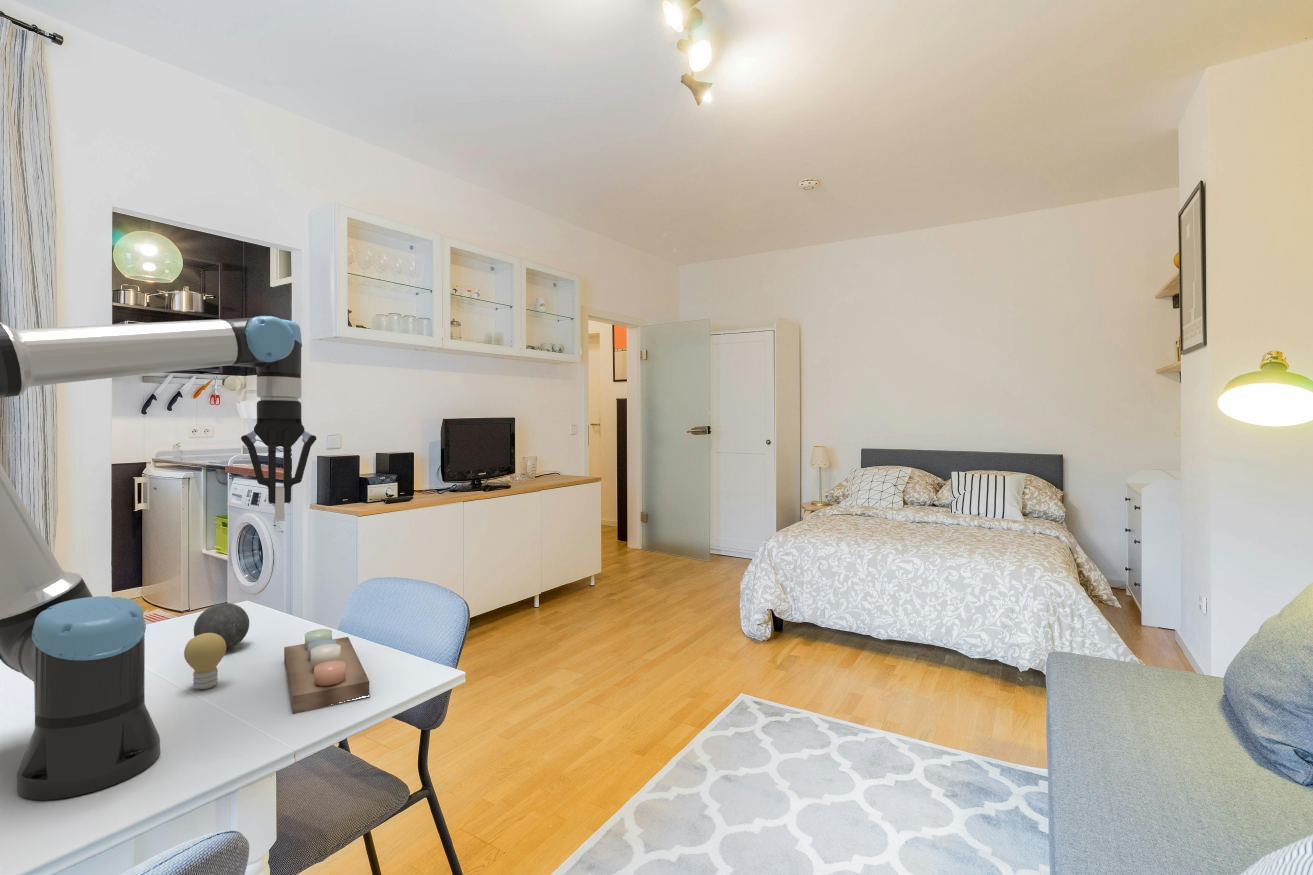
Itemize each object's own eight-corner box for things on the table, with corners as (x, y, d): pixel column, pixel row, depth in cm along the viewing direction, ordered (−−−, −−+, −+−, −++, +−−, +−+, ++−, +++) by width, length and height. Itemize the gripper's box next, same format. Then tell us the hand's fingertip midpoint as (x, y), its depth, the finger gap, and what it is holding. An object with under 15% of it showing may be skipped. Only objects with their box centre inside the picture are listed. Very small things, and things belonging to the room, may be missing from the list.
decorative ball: (199, 645, 140) (199, 600, 140) (252, 639, 144) (252, 595, 144) (188, 660, 131) (188, 612, 131) (245, 653, 135) (245, 607, 135)
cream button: (312, 668, 116) (311, 654, 116) (309, 660, 120) (309, 646, 120) (342, 663, 119) (342, 649, 119) (338, 655, 123) (338, 641, 123)
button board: (292, 713, 108) (292, 695, 108) (284, 661, 131) (284, 646, 131) (369, 697, 114) (369, 680, 114) (348, 650, 138) (348, 636, 138)
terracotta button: (315, 687, 110) (315, 673, 110) (312, 678, 115) (312, 663, 115) (347, 681, 113) (347, 667, 113) (343, 672, 117) (343, 658, 117)
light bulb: (177, 689, 117) (176, 635, 117) (214, 677, 123) (214, 626, 122) (196, 696, 114) (195, 641, 114) (233, 684, 120) (233, 631, 119)
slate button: (308, 662, 122) (308, 648, 122) (306, 654, 126) (306, 641, 126) (337, 657, 125) (337, 644, 125) (334, 649, 129) (334, 636, 129)
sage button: (305, 651, 128) (305, 638, 128) (303, 643, 132) (303, 631, 132) (333, 646, 131) (333, 634, 131) (330, 639, 135) (330, 627, 135)
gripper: (315, 401, 130) (315, 515, 131) (239, 399, 123) (240, 520, 124) (318, 400, 124) (319, 520, 125) (239, 398, 117) (239, 525, 117)
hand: (279, 519), depth 124 cm, fingers closed
